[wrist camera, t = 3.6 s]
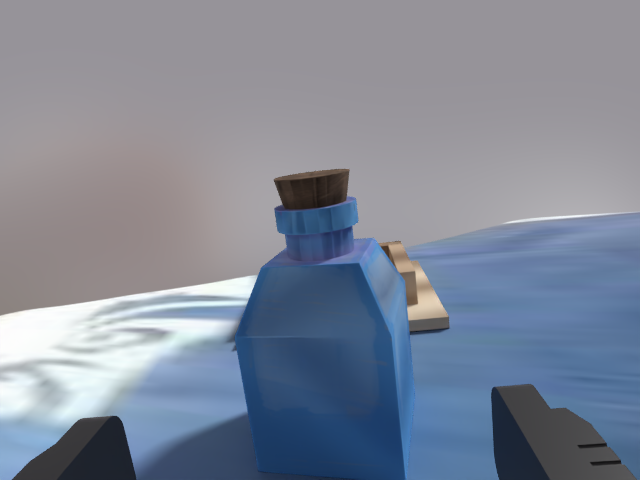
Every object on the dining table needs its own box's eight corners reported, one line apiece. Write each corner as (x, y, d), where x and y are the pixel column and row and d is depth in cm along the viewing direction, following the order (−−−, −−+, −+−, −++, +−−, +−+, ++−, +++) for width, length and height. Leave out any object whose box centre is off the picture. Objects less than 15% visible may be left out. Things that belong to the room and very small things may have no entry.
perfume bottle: (258, 472, 19) (208, 191, 17) (300, 391, 25) (268, 174, 23) (406, 483, 18) (375, 174, 15) (415, 395, 24) (394, 160, 21)
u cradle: (275, 283, 45) (270, 250, 45) (418, 268, 44) (415, 235, 44) (244, 346, 32) (236, 301, 31) (449, 328, 31) (446, 281, 30)
